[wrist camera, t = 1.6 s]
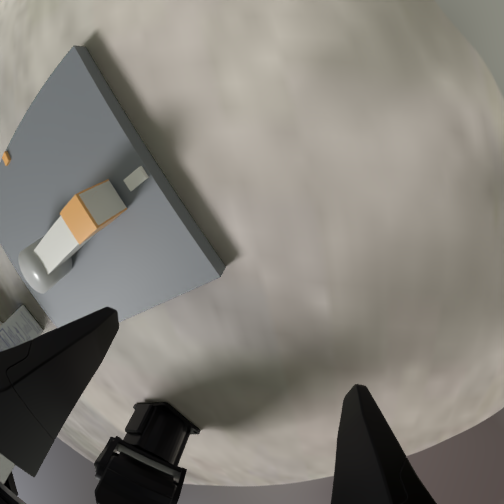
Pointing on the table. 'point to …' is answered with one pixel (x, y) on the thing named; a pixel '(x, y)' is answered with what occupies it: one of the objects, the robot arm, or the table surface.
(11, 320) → the medicine box
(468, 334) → the table surface
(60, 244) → the white and tan block
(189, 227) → the dial board
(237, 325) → the table surface
